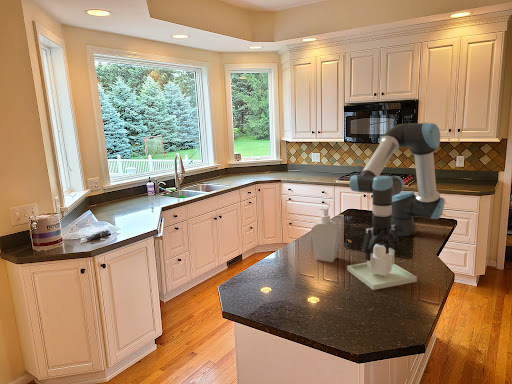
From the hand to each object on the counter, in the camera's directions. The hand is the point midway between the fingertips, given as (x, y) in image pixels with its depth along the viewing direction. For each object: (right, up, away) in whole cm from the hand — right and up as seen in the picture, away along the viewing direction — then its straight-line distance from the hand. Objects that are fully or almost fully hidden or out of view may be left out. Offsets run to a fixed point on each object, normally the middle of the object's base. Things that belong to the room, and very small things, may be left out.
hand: (380, 265), depth 151 cm
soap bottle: (-18, -1, +22) cm, 29 cm away
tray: (0, -4, +1) cm, 5 cm away
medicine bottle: (0, -3, +1) cm, 3 cm away
